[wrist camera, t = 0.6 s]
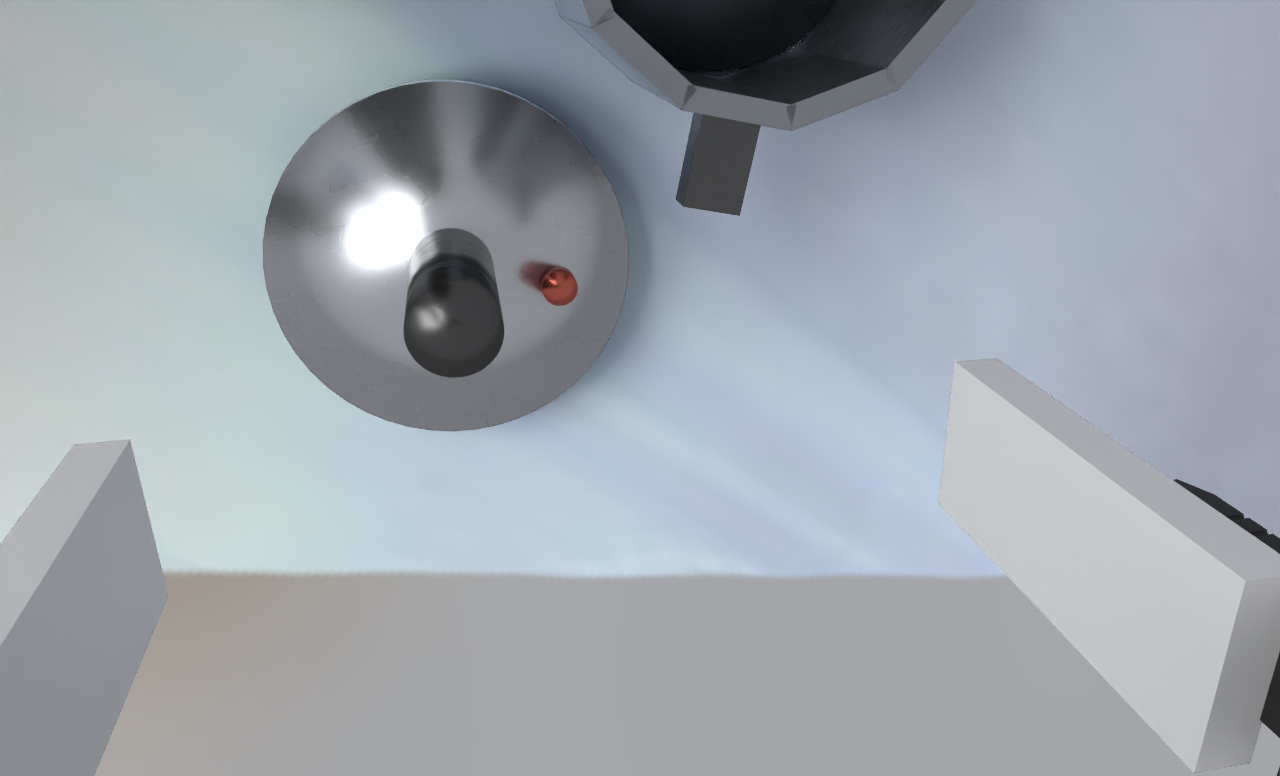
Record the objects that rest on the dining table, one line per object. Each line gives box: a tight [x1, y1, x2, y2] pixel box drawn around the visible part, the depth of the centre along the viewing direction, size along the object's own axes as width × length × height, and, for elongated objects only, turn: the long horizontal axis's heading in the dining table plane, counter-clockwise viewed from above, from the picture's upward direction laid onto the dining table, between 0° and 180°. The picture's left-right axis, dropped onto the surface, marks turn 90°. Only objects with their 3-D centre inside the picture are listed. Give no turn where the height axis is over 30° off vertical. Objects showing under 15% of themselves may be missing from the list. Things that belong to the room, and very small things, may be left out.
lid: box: [263, 79, 628, 431], centre depth 36 cm, size 14×14×10 cm
